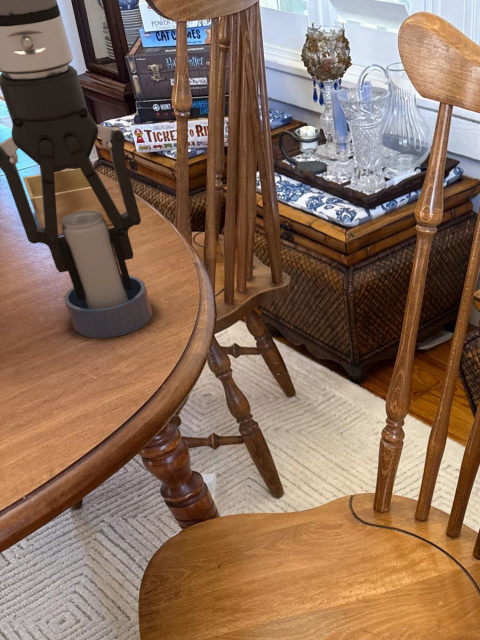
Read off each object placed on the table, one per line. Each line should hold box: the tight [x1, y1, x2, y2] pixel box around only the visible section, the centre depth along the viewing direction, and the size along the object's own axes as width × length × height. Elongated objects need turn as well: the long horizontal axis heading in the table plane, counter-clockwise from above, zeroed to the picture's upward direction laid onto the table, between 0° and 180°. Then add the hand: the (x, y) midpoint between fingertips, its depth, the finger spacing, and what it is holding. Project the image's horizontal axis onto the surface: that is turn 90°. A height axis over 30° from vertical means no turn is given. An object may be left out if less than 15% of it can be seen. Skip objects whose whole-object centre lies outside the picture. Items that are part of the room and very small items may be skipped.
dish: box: [63, 274, 153, 339], centre depth 94 cm, size 9×9×4 cm
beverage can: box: [61, 210, 129, 309], centre depth 91 cm, size 5×5×12 cm
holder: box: [22, 168, 113, 236], centre depth 117 cm, size 10×10×6 cm
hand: (104, 290), depth 93 cm, fingers open, 5 cm apart
